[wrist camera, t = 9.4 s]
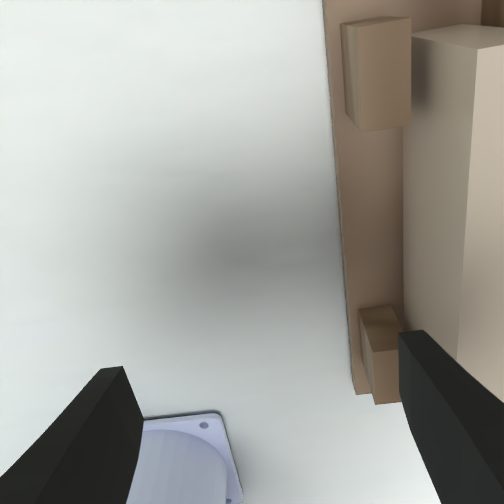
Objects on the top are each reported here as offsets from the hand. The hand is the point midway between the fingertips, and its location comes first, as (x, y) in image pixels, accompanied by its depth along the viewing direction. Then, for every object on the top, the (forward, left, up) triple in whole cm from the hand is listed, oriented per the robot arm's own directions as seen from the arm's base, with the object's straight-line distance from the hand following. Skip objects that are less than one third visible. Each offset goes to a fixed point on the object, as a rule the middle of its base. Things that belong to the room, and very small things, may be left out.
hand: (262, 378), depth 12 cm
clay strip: (+7, 0, -8) cm, 11 cm away
